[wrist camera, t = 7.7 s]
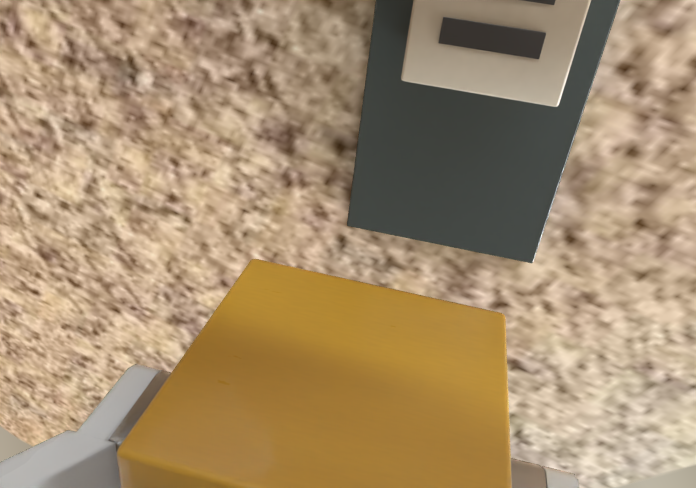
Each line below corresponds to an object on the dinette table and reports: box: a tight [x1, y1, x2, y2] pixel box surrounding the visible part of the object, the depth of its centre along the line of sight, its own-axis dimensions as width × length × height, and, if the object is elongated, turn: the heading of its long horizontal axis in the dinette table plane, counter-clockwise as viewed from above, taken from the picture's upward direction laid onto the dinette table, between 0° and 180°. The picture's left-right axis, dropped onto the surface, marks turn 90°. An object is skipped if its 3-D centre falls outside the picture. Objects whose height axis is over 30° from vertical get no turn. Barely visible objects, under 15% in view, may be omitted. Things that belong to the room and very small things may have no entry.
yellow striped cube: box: [117, 259, 512, 488], centre depth 9 cm, size 5×5×5 cm
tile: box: [401, 0, 591, 107], centre depth 17 cm, size 5×5×5 cm
